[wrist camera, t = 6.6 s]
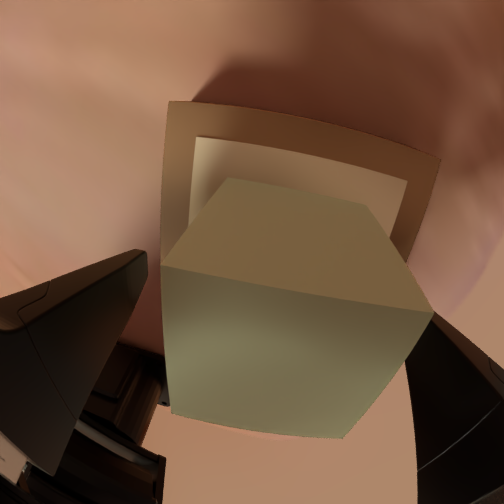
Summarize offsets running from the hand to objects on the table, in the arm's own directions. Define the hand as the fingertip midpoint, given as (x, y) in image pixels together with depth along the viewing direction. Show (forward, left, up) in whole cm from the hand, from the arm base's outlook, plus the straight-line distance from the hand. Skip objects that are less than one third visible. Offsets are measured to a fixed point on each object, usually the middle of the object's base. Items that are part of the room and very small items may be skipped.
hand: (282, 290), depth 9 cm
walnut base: (0, 0, -5) cm, 5 cm away
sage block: (0, 0, -2) cm, 2 cm away
